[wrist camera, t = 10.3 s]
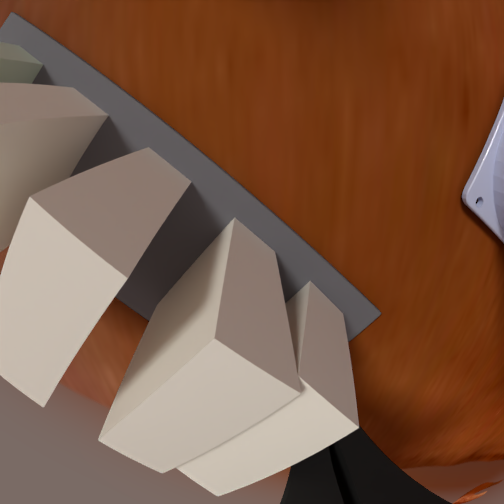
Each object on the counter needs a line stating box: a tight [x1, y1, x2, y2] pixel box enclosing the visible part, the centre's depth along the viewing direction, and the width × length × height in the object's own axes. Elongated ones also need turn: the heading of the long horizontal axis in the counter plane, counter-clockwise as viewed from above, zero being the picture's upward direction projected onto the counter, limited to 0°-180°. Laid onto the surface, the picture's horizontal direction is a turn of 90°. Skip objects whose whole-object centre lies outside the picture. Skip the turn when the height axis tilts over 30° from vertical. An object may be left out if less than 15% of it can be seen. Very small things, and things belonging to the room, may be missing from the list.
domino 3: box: [98, 218, 301, 473], centre depth 9 cm, size 2×5×7 cm, turn 138°
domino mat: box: [0, 12, 381, 342], centre depth 11 cm, size 22×7×1 cm, turn 48°
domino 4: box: [176, 281, 359, 496], centre depth 10 cm, size 2×5×7 cm, turn 138°
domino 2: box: [0, 147, 191, 407], centre depth 8 cm, size 2×5×7 cm, turn 138°
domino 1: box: [0, 82, 109, 252], centre depth 7 cm, size 2×5×7 cm, turn 138°
